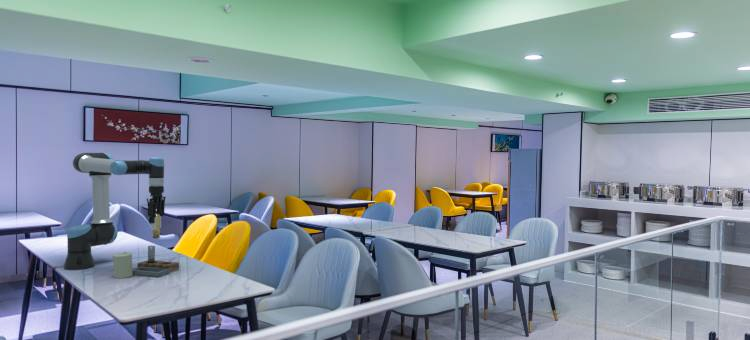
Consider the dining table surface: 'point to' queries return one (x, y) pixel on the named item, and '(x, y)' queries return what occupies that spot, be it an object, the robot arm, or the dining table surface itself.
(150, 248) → the steel pin
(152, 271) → the tray
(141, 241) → the dining table surface
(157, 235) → the brass pin
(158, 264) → the block
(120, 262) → the can
